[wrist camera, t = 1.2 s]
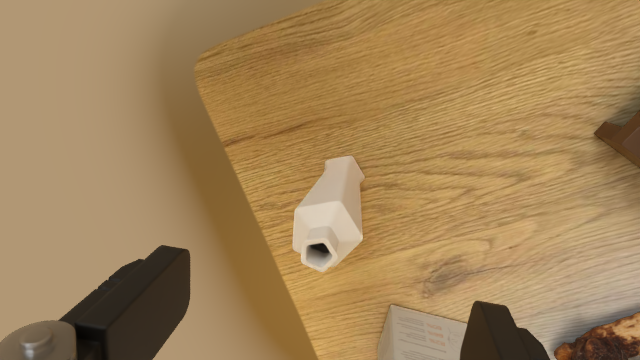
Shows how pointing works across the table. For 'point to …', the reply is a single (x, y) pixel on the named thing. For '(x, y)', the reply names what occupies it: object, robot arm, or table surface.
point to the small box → (419, 336)
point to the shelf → (623, 138)
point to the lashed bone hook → (605, 342)
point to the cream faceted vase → (330, 216)
